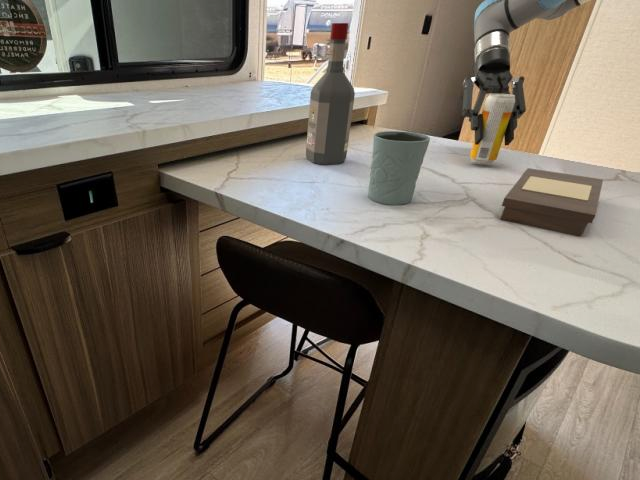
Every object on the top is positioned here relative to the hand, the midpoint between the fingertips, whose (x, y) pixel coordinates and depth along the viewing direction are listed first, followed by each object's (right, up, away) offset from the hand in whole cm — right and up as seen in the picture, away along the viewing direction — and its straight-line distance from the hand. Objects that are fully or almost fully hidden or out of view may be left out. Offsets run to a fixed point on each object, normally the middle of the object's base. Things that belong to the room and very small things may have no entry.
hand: (494, 141), depth 99 cm
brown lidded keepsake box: (-2, -20, -19) cm, 28 cm away
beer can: (+1, -3, +6) cm, 7 cm away
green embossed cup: (-30, -17, -14) cm, 37 cm away
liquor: (-38, -1, +11) cm, 40 cm away
